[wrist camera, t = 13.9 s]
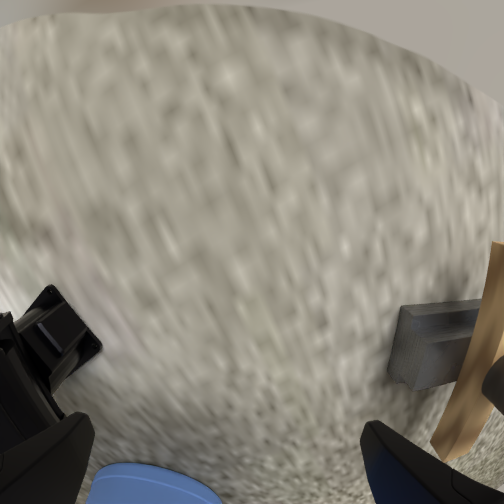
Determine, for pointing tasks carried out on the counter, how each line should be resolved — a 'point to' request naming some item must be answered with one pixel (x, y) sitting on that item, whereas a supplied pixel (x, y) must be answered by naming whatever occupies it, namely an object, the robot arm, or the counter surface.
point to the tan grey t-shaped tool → (477, 371)
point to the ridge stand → (432, 342)
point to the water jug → (147, 486)
